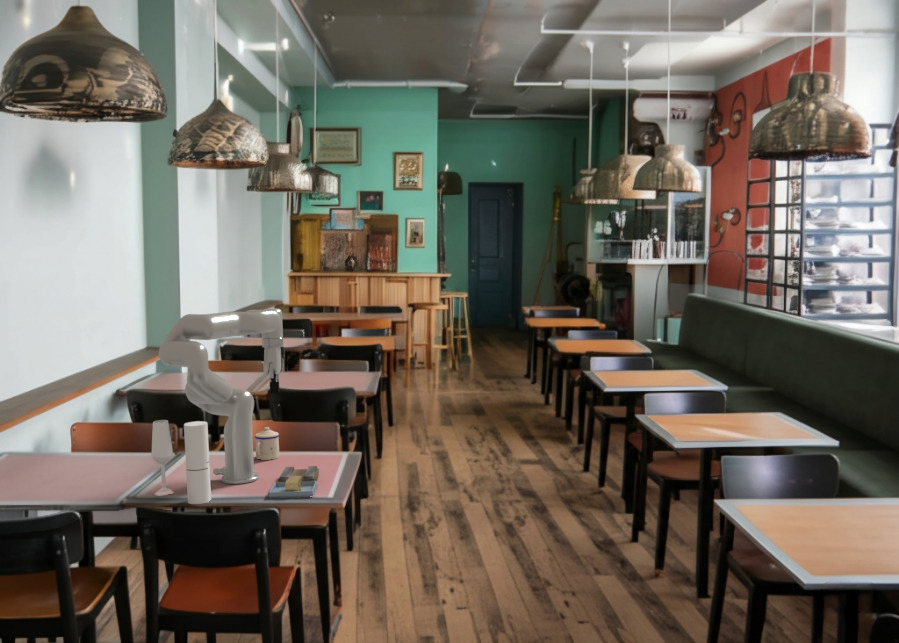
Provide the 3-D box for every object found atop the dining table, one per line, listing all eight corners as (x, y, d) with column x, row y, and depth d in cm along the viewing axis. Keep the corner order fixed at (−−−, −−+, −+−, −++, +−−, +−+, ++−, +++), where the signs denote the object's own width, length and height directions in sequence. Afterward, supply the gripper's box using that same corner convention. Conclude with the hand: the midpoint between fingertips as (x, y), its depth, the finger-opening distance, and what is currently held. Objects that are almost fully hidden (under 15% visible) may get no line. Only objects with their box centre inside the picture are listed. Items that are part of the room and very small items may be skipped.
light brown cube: (288, 491, 279) (288, 479, 279) (290, 488, 283) (289, 476, 283) (301, 491, 280) (300, 479, 279) (302, 487, 284) (301, 475, 283)
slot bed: (278, 487, 287) (278, 477, 286) (284, 476, 299) (284, 467, 299) (314, 486, 287) (314, 476, 287) (319, 475, 300) (318, 465, 300)
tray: (269, 498, 274) (268, 492, 274) (275, 487, 286) (274, 482, 286) (313, 497, 275) (312, 491, 274) (317, 486, 286) (317, 480, 286)
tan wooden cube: (287, 491, 279) (285, 495, 275) (286, 479, 279) (285, 482, 275) (299, 491, 280) (298, 494, 276) (299, 479, 279) (297, 482, 275)
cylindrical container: (214, 497, 276) (210, 421, 274) (206, 504, 269) (202, 426, 267) (193, 497, 277) (189, 421, 275) (184, 504, 270) (180, 426, 268)
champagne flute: (157, 490, 286) (153, 419, 284) (177, 490, 286) (174, 419, 284) (150, 496, 279) (146, 423, 277) (171, 495, 279) (167, 423, 277)
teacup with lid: (263, 454, 333) (262, 424, 332) (284, 455, 330) (283, 425, 329) (246, 461, 322) (245, 431, 321) (267, 463, 319) (266, 432, 318)
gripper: (265, 340, 319) (267, 389, 321) (258, 345, 304) (260, 396, 306) (286, 340, 319) (288, 388, 321) (279, 344, 304) (281, 395, 306)
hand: (274, 392), depth 313 cm, fingers closed
